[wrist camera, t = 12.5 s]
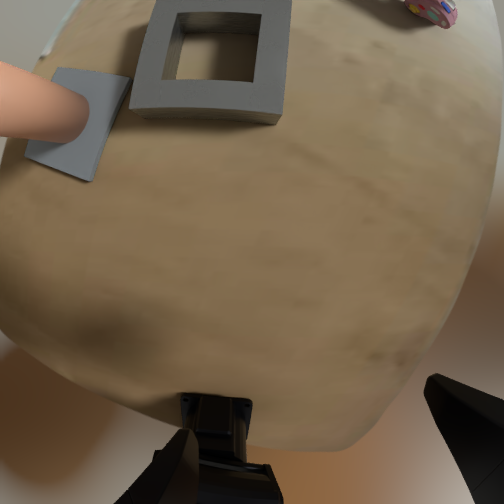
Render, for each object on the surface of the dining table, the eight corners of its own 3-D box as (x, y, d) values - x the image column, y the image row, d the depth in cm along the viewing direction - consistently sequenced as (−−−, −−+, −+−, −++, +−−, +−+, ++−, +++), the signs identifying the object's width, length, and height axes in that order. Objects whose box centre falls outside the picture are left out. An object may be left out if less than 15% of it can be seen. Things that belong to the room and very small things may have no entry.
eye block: (275, 125, 17) (282, 114, 14) (144, 118, 16) (128, 109, 13) (285, 21, 14) (291, 0, 12) (167, 17, 14) (157, -3, 11)
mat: (132, 80, 15) (129, 77, 15) (92, 181, 17) (88, 181, 16) (61, 69, 14) (57, 67, 14) (28, 156, 16) (23, 156, 15)
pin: (85, 141, 16) (-47, 124, 4) (47, 145, 15) (-74, 141, 4) (94, 90, 15) (-20, 36, 3) (55, 97, 14) (-55, 66, 3)
